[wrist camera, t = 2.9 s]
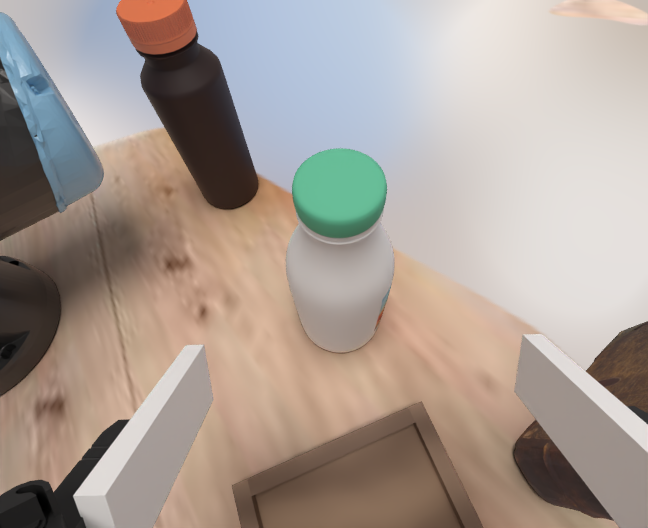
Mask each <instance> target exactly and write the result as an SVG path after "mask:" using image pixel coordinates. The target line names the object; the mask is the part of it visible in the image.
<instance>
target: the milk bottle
mask: <svg viewBox="0 0 648 528" xmlns="http://www.w3.org/2000/svg"><path fill="white" fill-rule="evenodd" d="M292 194H293V202H294V206H295V209H296V216H297V219H298V222H299V224H298V226H297V227H296V229H295V230H294V232H293V234H292V236H291V238H290V241H289V244H288V248H287V254H286V273H287V278H288V282H289V286H290V290H291V293H292V297H293V300H294V303H295V306H296V309H297V312H298V315H299V318H300V320H301V323H302V326H303V328H304V330H305V332H306V334H307V335H308V337H309V338H310V339H311V340H312V341H313V342H314V343H315V344H316V345H318V346H319V347H321V348H323V349H325V350H328V351H331V352H337V353H344V352H350V351H354V350H356V349H358V348H360V347H362V346H363V345H365V344H366V343H367V342H368V341H369V340H370V339H371V338H372V337H373V335H374V334H375V332H376V330H377V328H378V325H379V322H380V319H381V317H382V314H383V311H384V308H385V305H386V301H387V298H388V295H389V291H390V288H391V284H392V279H393V275H394V252H393V247H392V244H391V241H390V238H389V236H388V234H387V232H386V230H385V228H384V227H383V226H382V224H381V223H380V221H381V219H382V216H383V208H384V205H385V200H386V194H387V184H386V179H385V175H384V173H383V170H382V169H381V167H380V166H379V165H378V164H377V163H376V162H375V161H374V160H373V159H372V158H370V157H369V156H367V155H366V154H363V153H361V152H358V151H355V150H350V149H330V150H326V151H322V152H319V153H317V154H315V155H313V156H311V157H310V158H308V159H307V160H306V161H305V162H303V163H302V165H301V166H300V167H299V168H298V170H297V172H296V174H295V176H294V180H293V185H292Z"/></svg>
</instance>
